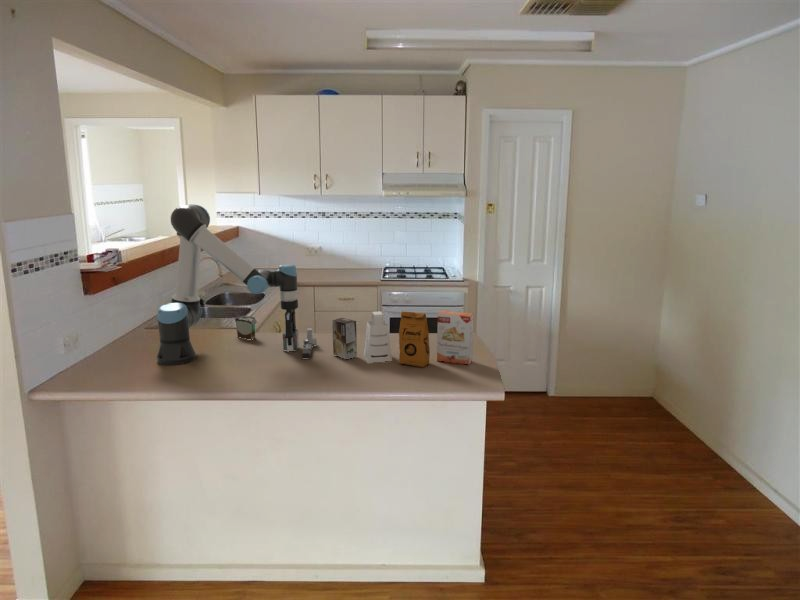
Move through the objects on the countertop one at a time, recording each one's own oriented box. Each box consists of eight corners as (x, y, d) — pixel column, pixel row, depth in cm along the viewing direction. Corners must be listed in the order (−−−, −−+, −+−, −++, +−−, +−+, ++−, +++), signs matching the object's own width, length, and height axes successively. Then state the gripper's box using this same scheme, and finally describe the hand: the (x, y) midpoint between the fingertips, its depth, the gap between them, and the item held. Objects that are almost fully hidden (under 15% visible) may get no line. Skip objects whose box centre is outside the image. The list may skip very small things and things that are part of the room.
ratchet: (313, 359, 237) (312, 340, 235) (298, 359, 237) (298, 341, 235) (317, 343, 259) (316, 327, 257) (304, 344, 258) (303, 327, 257)
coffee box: (357, 357, 239) (357, 320, 236) (346, 360, 235) (345, 323, 231) (343, 352, 246) (342, 317, 242) (332, 355, 241) (331, 319, 238)
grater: (367, 363, 231) (366, 316, 227) (363, 355, 241) (363, 310, 237) (392, 361, 233) (392, 315, 229) (387, 354, 243) (387, 309, 239)
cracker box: (436, 361, 233) (437, 313, 229) (440, 357, 238) (441, 310, 234) (469, 365, 228) (470, 316, 224) (472, 361, 233) (474, 312, 229)
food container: (263, 338, 268) (262, 318, 266) (253, 341, 263) (252, 320, 261) (245, 334, 275) (244, 314, 273) (235, 337, 270) (234, 317, 268)
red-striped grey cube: (297, 351, 248) (296, 333, 246) (283, 351, 247) (282, 334, 245) (298, 347, 254) (298, 330, 252) (285, 347, 253) (284, 330, 252)
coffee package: (423, 369, 223) (423, 316, 219) (395, 365, 229) (395, 313, 224) (433, 362, 232) (433, 311, 227) (406, 358, 237) (406, 308, 233)
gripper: (294, 304, 235) (297, 355, 240) (300, 294, 256) (302, 342, 261) (276, 305, 235) (279, 356, 240) (283, 295, 256) (286, 342, 260)
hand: (291, 348), depth 250 cm, fingers open, 8 cm apart
